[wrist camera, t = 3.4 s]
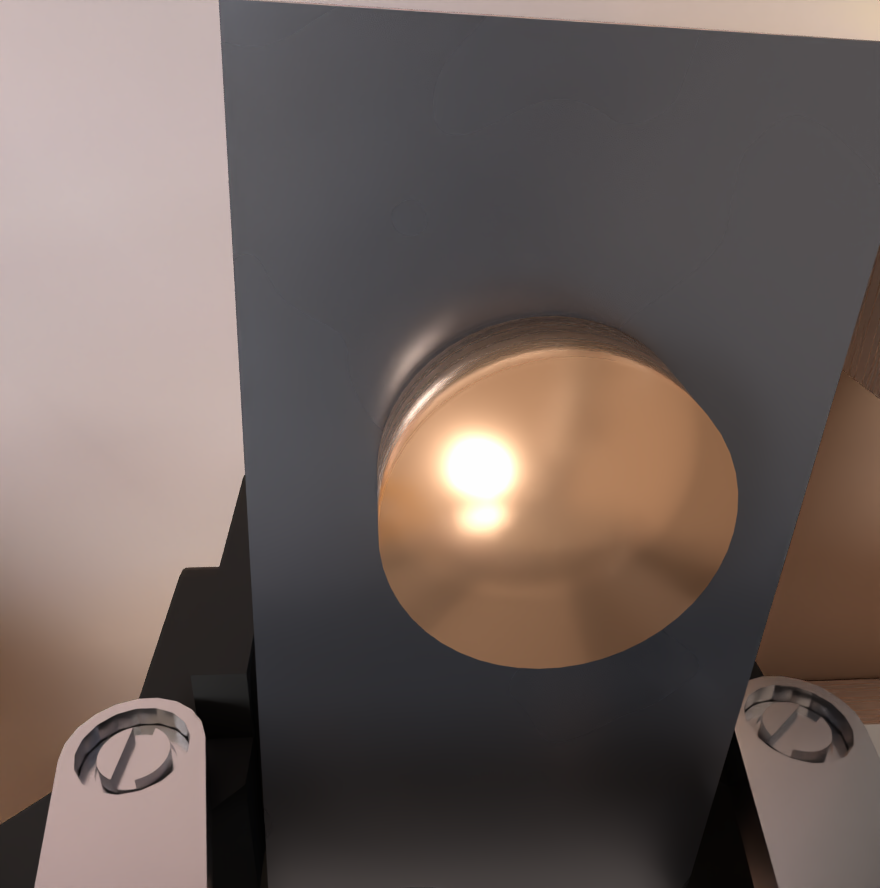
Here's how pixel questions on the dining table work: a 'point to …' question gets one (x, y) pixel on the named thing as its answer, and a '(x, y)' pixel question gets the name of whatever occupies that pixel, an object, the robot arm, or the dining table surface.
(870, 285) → the end link
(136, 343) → the dining table surface
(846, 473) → the dining table surface
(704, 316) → the link bar
